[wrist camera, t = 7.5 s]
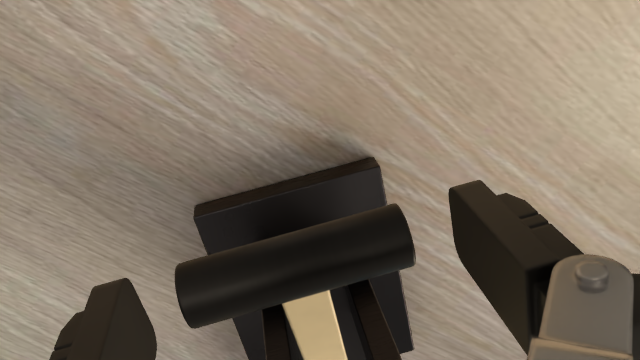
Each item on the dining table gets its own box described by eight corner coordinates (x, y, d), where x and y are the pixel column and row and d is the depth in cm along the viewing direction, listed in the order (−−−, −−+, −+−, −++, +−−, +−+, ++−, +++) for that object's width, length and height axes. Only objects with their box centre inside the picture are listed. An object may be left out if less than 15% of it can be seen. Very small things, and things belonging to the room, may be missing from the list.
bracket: (194, 205, 25) (172, 402, 15) (373, 156, 26) (476, 313, 15) (260, 378, 31) (279, 612, 20) (408, 335, 31) (501, 543, 21)
